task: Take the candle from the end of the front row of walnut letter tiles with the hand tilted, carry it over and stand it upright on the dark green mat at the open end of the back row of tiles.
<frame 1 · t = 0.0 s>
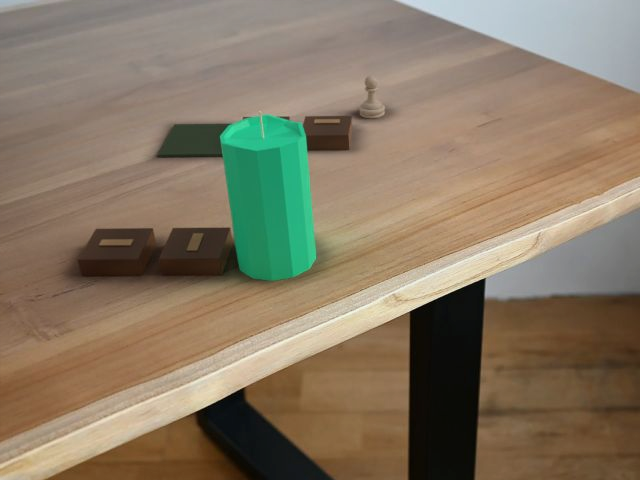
front word: (159, 259, 69), on the table
mat: (202, 141, 87), on the table
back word: (295, 140, 86), on the table
candle: (277, 261, 69), on the table
pawn: (372, 115, 91), on the table
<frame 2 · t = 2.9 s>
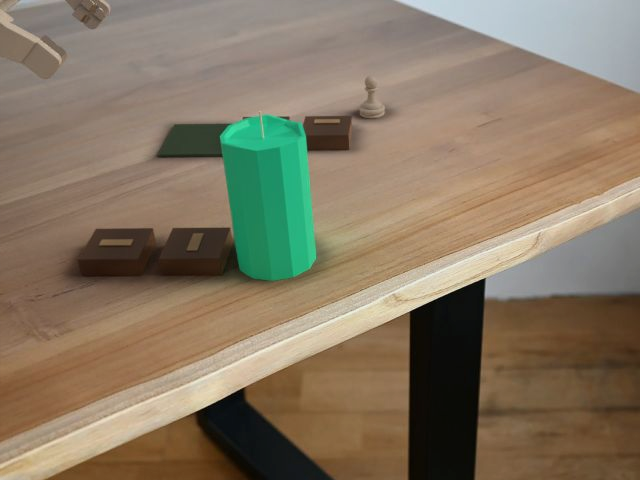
hand: (82, 42, 60), 17 cm above the table, tool tilted 45°, fingers open, 8 cm apart
nothing on the table moved.
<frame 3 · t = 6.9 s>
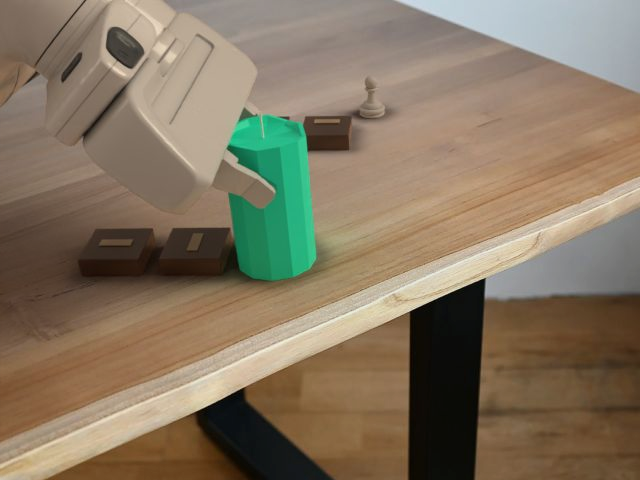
hand: (276, 177, 65), 7 cm above the table, tool tilted 45°, fingers closed on candle, 5 cm apart
candle: (277, 261, 69), on the table, touching gripper
everything else where it was.
when the fingers open (7 cm above the table, at t = 15.7 s): candle stays where it is, resting on mat.
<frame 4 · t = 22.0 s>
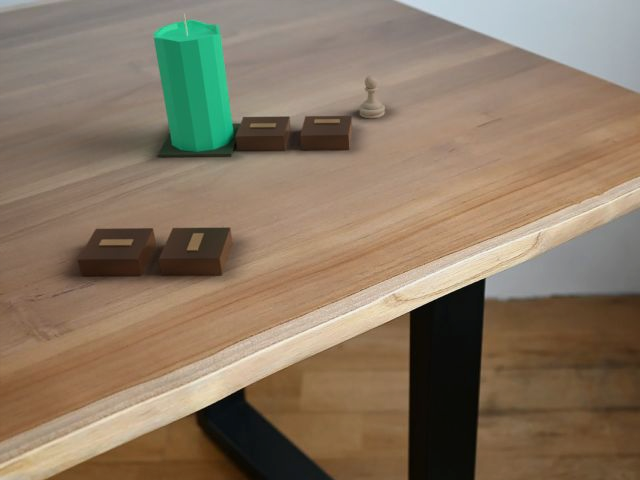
candle: (203, 139, 87), resting on mat
everything else where it was.
at the end: candle 0.1 cm off-centre on the mat, point 0.1 cm above the mat's base; candle tilted 0°; the gripper is holding nothing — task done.
